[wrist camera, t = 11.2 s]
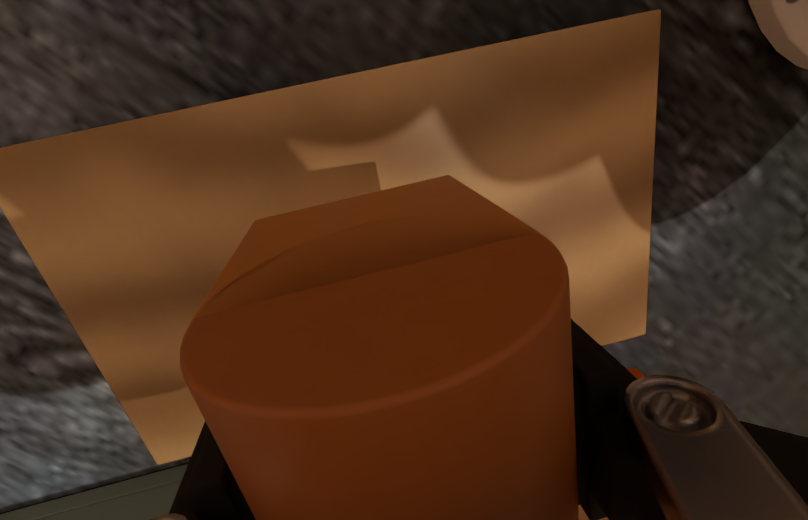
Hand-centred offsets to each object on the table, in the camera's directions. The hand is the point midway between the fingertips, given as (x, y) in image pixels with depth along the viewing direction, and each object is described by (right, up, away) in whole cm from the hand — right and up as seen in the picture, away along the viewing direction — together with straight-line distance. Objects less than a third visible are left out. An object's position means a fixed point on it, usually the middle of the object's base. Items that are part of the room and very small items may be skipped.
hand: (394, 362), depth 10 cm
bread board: (-1, +3, +7) cm, 7 cm away
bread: (0, +1, +2) cm, 2 cm away
